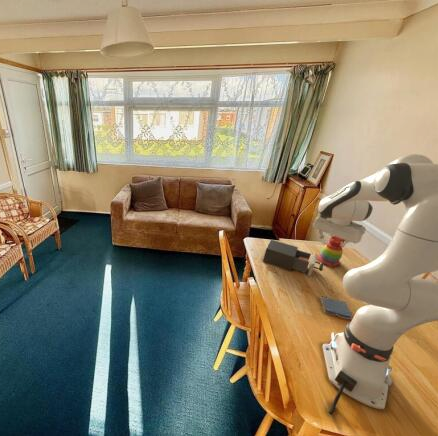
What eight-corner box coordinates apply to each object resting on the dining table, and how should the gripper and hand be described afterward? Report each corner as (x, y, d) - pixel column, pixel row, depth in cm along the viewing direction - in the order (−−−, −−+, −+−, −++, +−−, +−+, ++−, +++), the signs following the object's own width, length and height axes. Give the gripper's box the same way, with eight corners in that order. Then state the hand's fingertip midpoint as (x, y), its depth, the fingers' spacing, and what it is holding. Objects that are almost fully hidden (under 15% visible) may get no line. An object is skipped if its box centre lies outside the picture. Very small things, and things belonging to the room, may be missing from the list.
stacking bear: (338, 260, 138) (349, 235, 131) (339, 269, 131) (351, 243, 123) (317, 255, 144) (326, 230, 136) (317, 263, 136) (327, 237, 128)
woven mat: (345, 304, 108) (346, 301, 107) (352, 321, 99) (354, 318, 98) (318, 297, 112) (320, 294, 111) (323, 313, 103) (325, 310, 102)
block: (305, 269, 128) (307, 262, 126) (296, 266, 131) (298, 259, 129) (306, 265, 131) (308, 258, 130) (297, 262, 134) (299, 256, 132)
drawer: (320, 268, 131) (325, 257, 127) (319, 278, 122) (324, 267, 119) (286, 257, 140) (289, 246, 137) (282, 266, 132) (286, 255, 129)
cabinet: (293, 260, 139) (298, 247, 135) (290, 271, 130) (294, 257, 126) (267, 252, 147) (271, 239, 143) (262, 261, 138) (266, 248, 134)
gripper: (370, 225, 105) (358, 250, 111) (321, 210, 121) (313, 232, 127) (364, 228, 103) (352, 254, 109) (315, 212, 119) (307, 235, 125)
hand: (331, 242), depth 118 cm, fingers open, 8 cm apart
